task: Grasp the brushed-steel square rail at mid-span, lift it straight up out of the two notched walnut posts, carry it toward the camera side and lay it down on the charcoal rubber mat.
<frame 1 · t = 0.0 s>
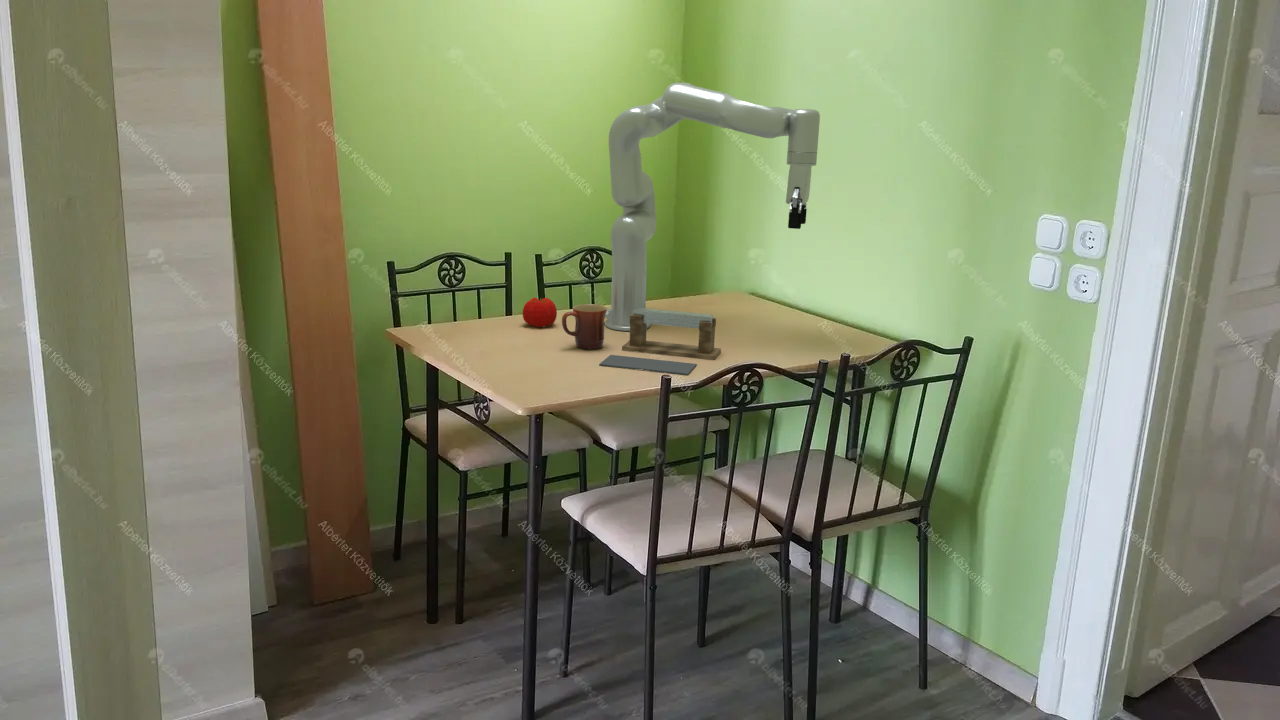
hand: (796, 225, 260), 31 cm above the table, fingers open, 9 cm apart
mug: (583, 348, 257), on the table
rail: (672, 324, 254), point 7 cm above the table, touching rack
mat: (648, 365, 242), on the table
tomato: (539, 326, 277), on the table
rack: (671, 351, 256), on the table
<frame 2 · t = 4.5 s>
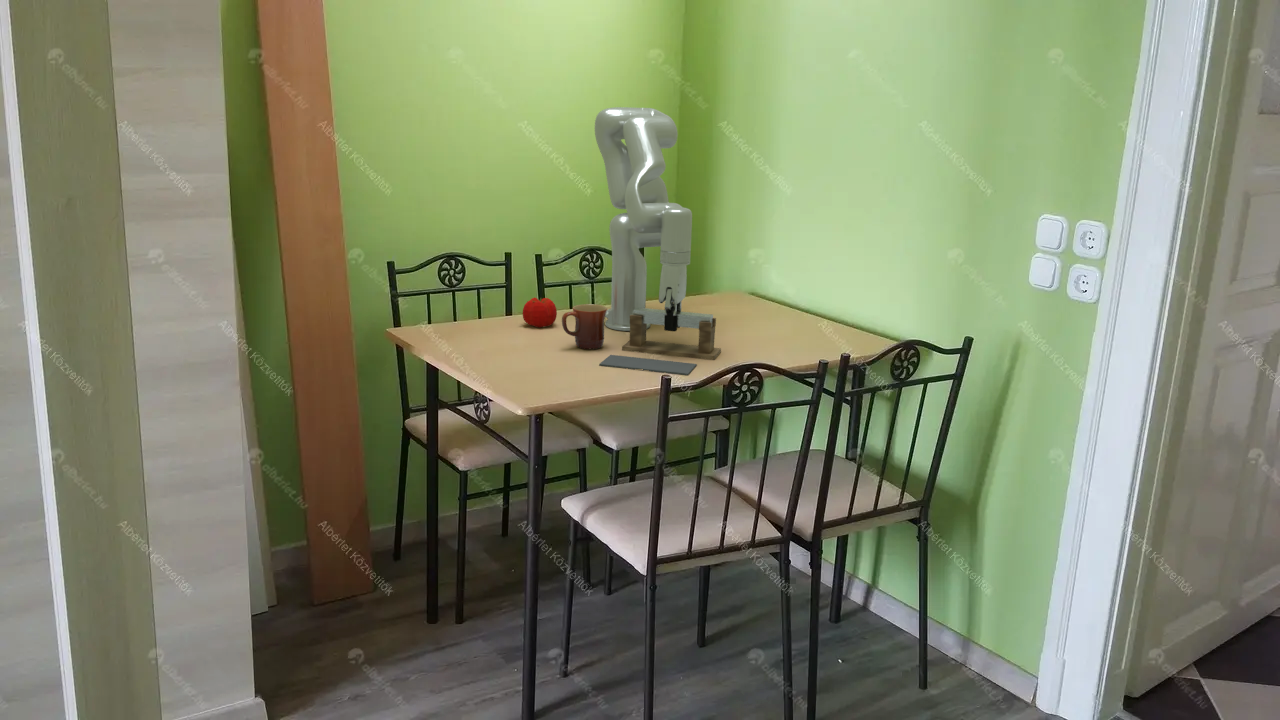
hand: (672, 328, 254), 6 cm above the table, fingers closed on rail, 3 cm apart
rail: (672, 324, 254), point 7 cm above the table, touching gripper, rack
everything else where it was.
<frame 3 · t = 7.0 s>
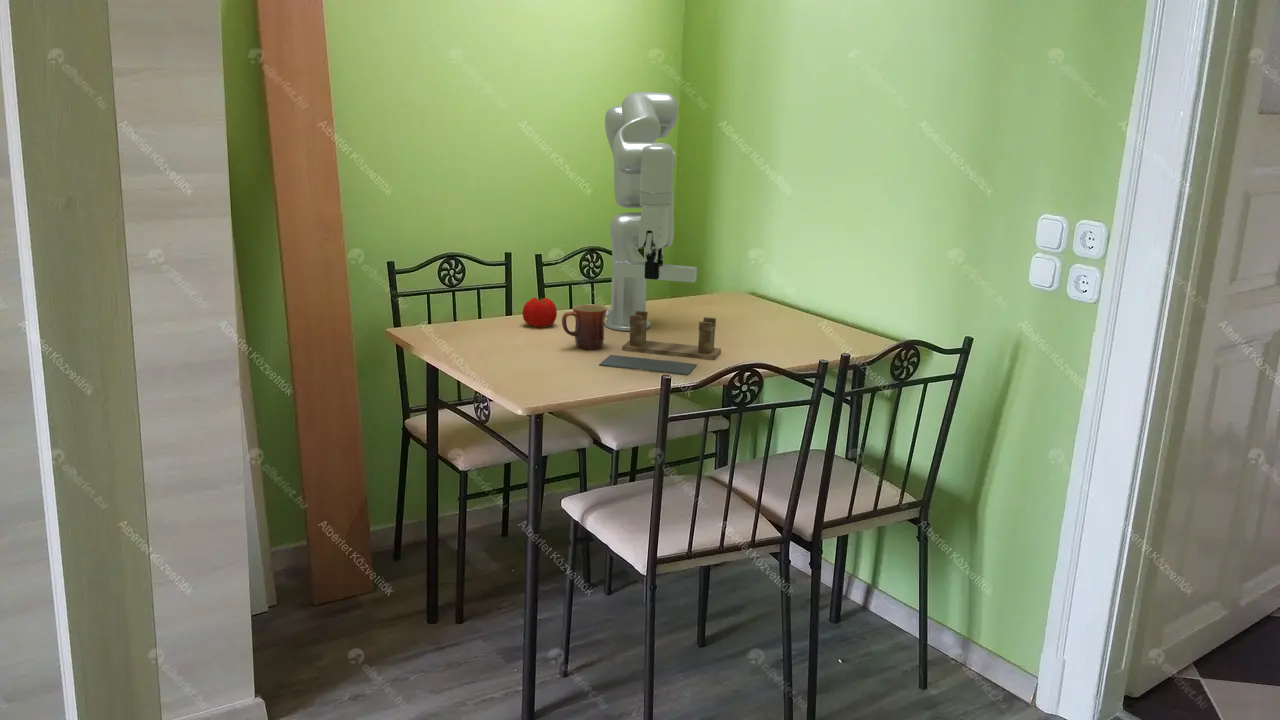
hand: (653, 276, 237), 22 cm above the table, fingers closed on rail, 3 cm apart
rail: (653, 277, 237), point 21 cm above the table, touching gripper
everything else where it was.
when the fingers open (1 cm above the table, at t = 9.7 s): rail stays where it is, resting on mat.
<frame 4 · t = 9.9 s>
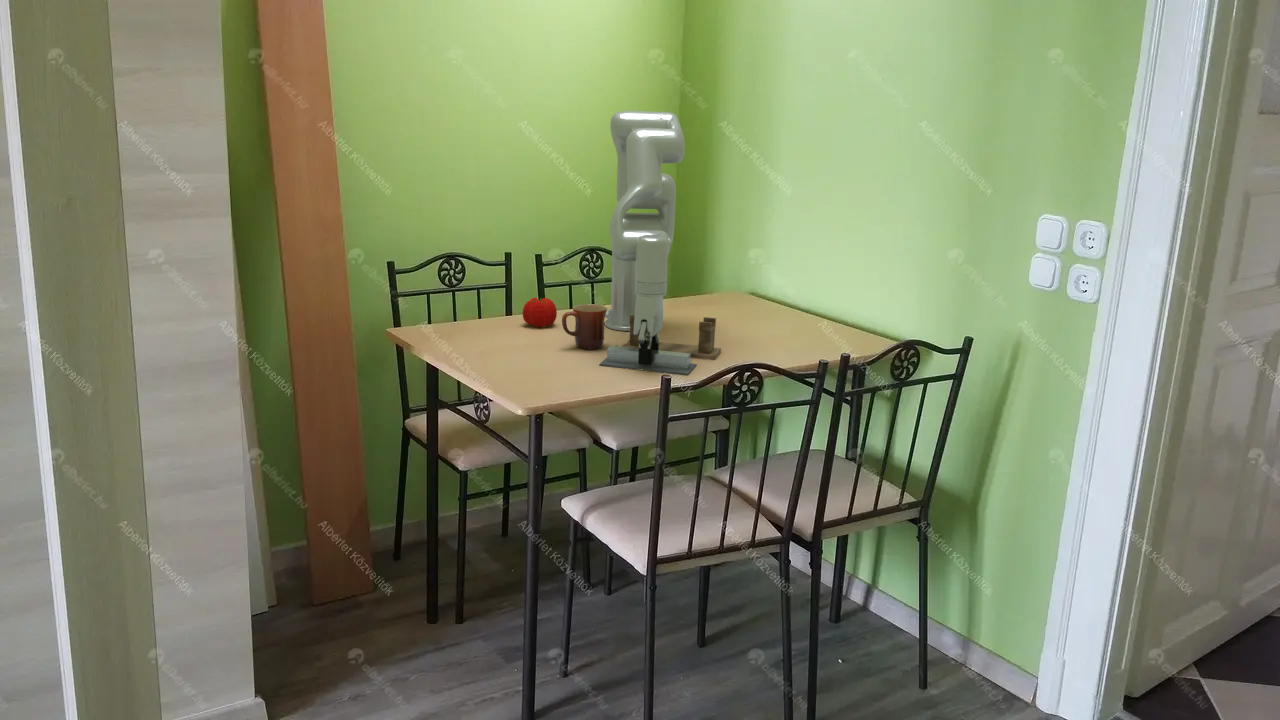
hand: (648, 360, 242), 1 cm above the table, fingers open, 5 cm apart
rail: (648, 363, 242), resting on mat
everything else where it was.
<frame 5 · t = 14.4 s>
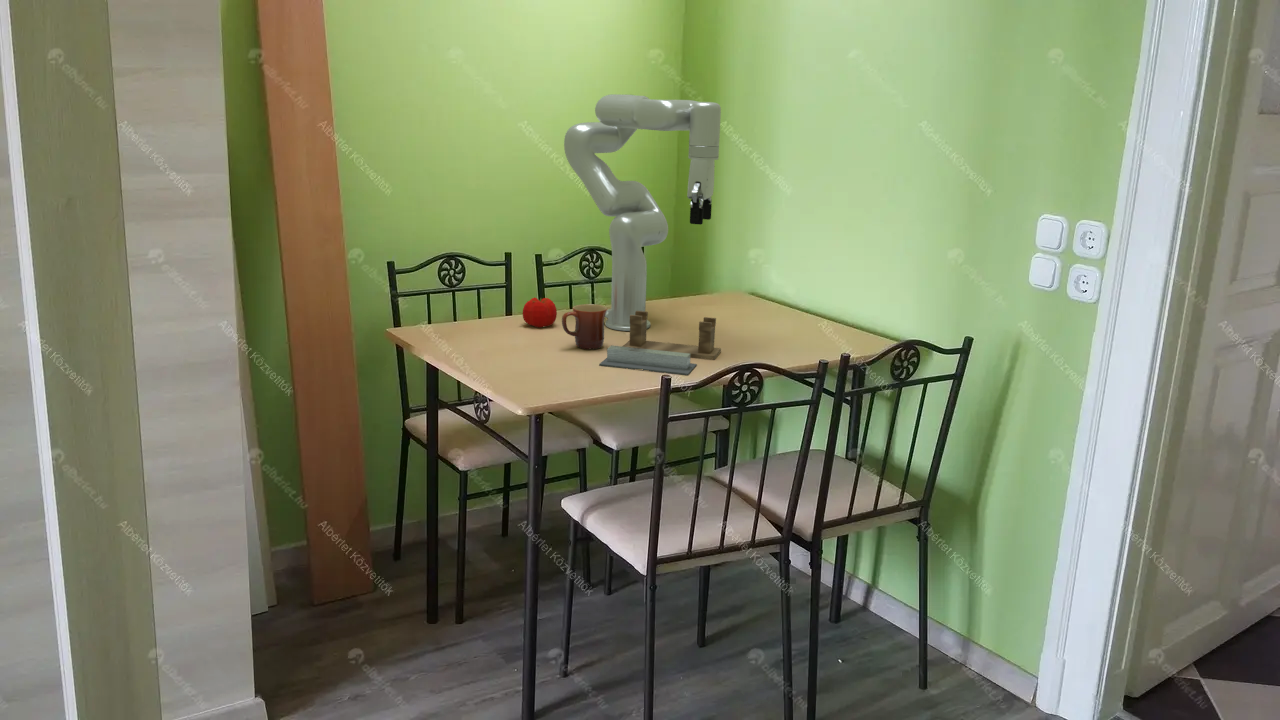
hand: (700, 221, 254), 32 cm above the table, fingers open, 9 cm apart
nothing on the table moved.
at the end: rail inside the target area on the mat (0.1 cm from its centre), point 0.4 cm above the mat's base; rail resting on mat; the gripper is holding nothing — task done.
